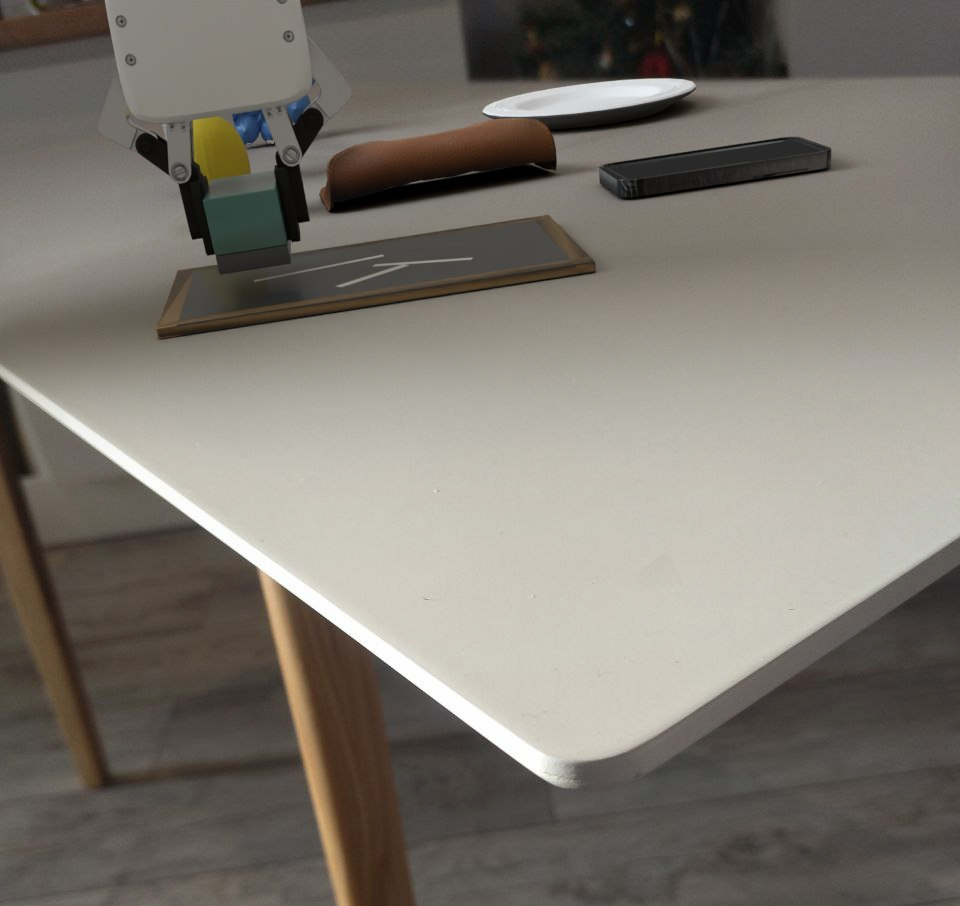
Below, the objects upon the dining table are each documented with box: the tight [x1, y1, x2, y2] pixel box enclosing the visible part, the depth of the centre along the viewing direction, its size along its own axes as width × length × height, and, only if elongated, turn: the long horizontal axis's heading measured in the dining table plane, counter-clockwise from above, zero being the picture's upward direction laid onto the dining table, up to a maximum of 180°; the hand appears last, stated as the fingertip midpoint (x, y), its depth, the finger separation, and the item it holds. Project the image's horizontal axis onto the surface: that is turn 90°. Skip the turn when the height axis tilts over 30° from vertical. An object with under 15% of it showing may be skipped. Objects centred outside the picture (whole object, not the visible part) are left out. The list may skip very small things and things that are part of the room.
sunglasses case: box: [318, 118, 558, 212], centre depth 95 cm, size 18×7×7 cm
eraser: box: [203, 169, 292, 275], centre depth 70 cm, size 7×4×4 cm, turn 8°
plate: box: [482, 77, 697, 130], centre depth 119 cm, size 21×21×2 cm
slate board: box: [155, 214, 597, 340], centre depth 72 cm, size 24×14×1 cm, turn 98°
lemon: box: [193, 116, 252, 185], centre depth 92 cm, size 6×6×8 cm
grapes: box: [232, 79, 316, 144], centre depth 127 cm, size 12×7×12 cm, turn 95°
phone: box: [598, 136, 832, 198], centre depth 86 cm, size 8×1×15 cm
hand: (253, 240), depth 70 cm, fingers closed on eraser, 4 cm apart
